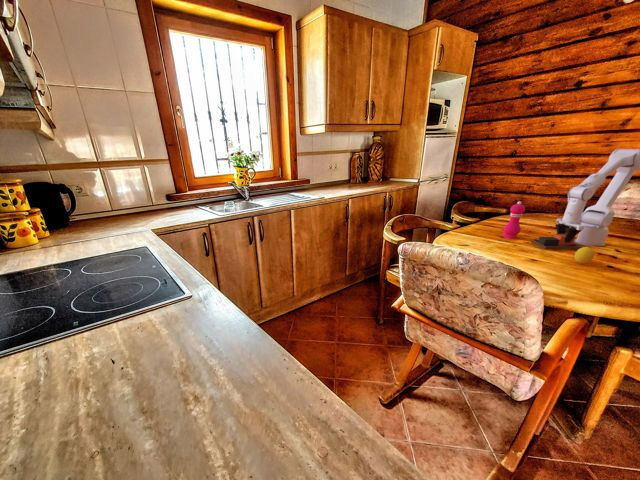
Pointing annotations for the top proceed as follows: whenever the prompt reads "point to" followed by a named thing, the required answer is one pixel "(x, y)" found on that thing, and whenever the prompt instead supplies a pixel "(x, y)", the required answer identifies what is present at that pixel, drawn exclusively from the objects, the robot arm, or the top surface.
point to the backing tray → (559, 247)
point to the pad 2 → (563, 239)
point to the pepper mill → (514, 221)
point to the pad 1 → (548, 241)
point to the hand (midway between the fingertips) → (563, 240)
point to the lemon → (584, 255)
